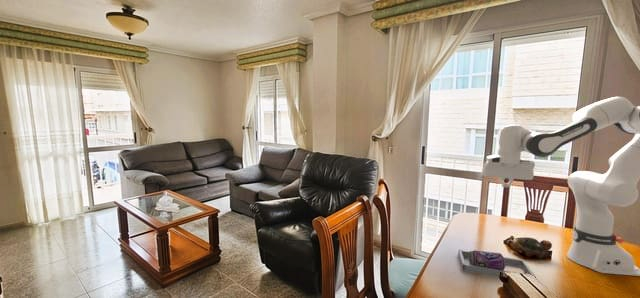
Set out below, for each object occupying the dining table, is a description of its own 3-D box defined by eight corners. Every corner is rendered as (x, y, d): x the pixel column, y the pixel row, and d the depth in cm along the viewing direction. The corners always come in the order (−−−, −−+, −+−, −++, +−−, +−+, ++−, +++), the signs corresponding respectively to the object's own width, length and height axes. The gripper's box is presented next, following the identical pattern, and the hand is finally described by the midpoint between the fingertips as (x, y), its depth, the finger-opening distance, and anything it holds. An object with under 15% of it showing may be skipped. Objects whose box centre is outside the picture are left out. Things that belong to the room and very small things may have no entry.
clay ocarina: (556, 262, 117) (557, 245, 116) (515, 259, 122) (516, 243, 120) (545, 250, 126) (546, 234, 125) (507, 248, 131) (508, 232, 129)
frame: (523, 265, 115) (523, 259, 115) (535, 283, 103) (536, 277, 103) (458, 254, 124) (458, 249, 123) (462, 270, 112) (462, 264, 111)
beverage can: (508, 266, 106) (474, 262, 109) (503, 275, 110) (470, 270, 113) (502, 250, 111) (470, 246, 114) (498, 259, 116) (467, 255, 119)
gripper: (532, 159, 127) (529, 187, 129) (482, 156, 134) (480, 183, 136) (537, 161, 121) (534, 191, 123) (485, 158, 128) (483, 186, 130)
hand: (505, 187), depth 130 cm, fingers closed
